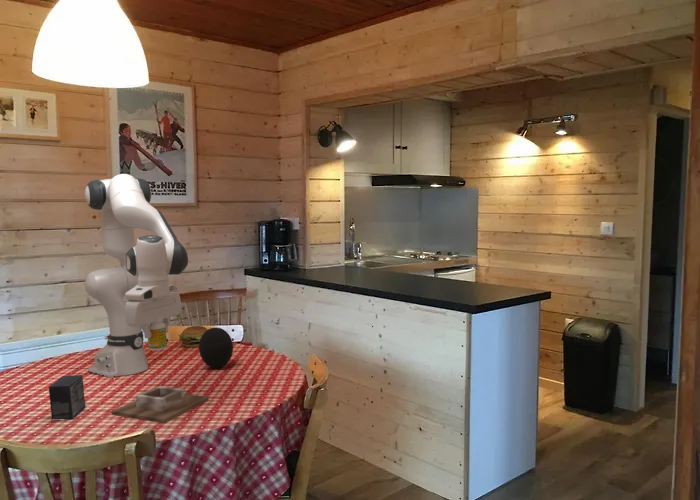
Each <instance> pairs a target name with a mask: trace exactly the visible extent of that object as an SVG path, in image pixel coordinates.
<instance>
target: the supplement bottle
mask: <svg viewBox="0 0 700 500" xmlns="http://www.w3.org/2000/svg"><path fill="white" fill-rule="evenodd" d="M148 328H149V330H150V331H151V332H152V335H153V336H152V337H151V338H147V344H148V345H147V346H148V350H150V351H161V350H164V349H167V347H168V337H167V333H166V325H165V323H163V318H162V317H159V318H158V320H157V321H155V322H152V323H149V327H148Z"/></svg>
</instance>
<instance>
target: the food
mask: <svg viewBox="0 0 700 500" xmlns="http://www.w3.org/2000/svg"><path fill="white" fill-rule="evenodd" d="M208 329H209V328H207V327H204V326H201V325H193V326H188V327H186V328H184V329H183V330H182V332H181V333H180V334H178V336H179V339H178V340H179V341H181V346H182V347H184V346H185V347H186V348H199V343H200V339H201V337H202V335H203V334H204V333H205V332H206V331H207V330H208ZM185 347H184V348H185Z"/></svg>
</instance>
